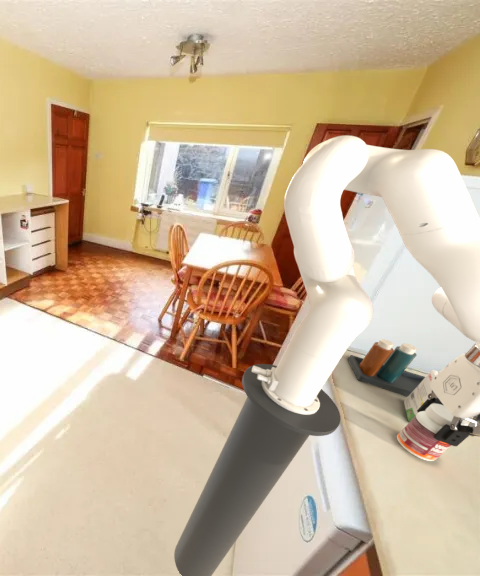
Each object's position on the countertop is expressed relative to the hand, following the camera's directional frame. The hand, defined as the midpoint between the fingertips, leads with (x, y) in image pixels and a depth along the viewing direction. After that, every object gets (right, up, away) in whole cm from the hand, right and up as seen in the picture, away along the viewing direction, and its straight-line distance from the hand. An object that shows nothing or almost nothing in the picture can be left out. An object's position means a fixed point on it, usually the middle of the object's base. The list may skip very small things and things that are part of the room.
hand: (435, 427), depth 56 cm
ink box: (+9, -3, +11) cm, 15 cm away
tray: (+15, +2, +22) cm, 26 cm away
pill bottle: (-1, -6, +3) cm, 7 cm away
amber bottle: (+9, +4, +24) cm, 26 cm away
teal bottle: (+13, +3, +22) cm, 26 cm away
